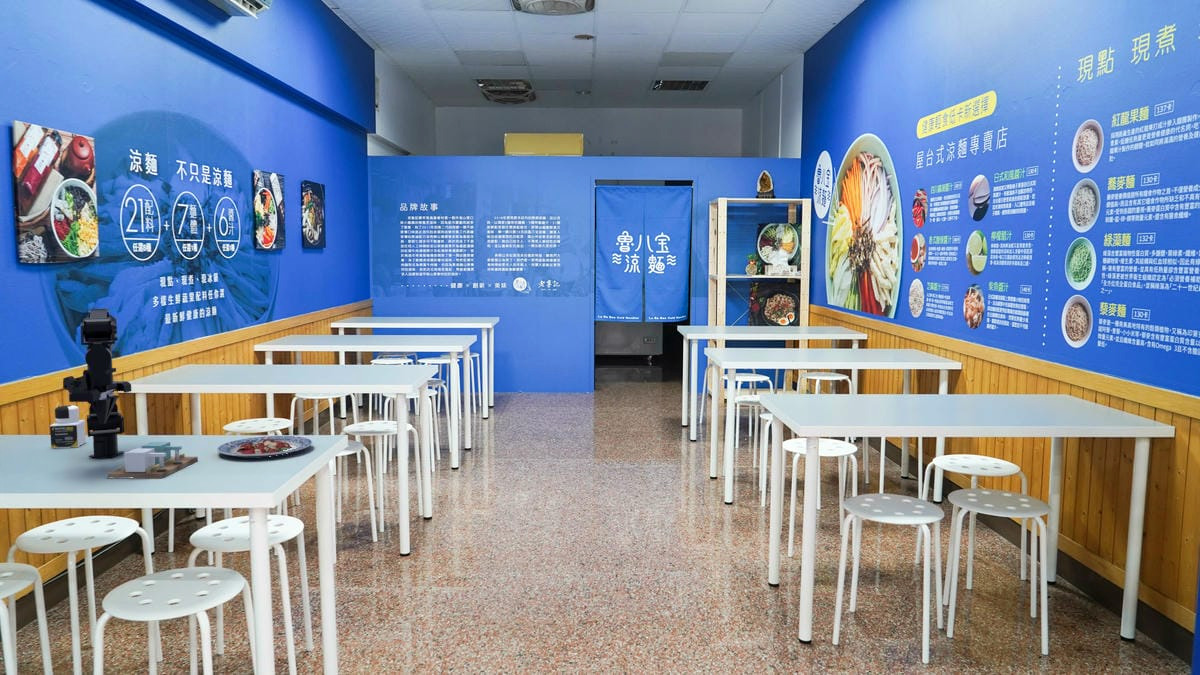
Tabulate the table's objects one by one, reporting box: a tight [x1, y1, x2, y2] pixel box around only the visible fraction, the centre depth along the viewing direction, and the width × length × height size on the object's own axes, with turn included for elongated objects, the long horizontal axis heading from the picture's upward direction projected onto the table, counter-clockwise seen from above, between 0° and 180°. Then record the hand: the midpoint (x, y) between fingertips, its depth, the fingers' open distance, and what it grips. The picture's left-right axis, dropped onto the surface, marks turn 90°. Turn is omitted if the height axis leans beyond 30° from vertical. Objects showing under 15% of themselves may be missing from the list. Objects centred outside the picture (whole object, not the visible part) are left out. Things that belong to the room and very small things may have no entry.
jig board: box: [106, 452, 199, 479], centre depth 226 cm, size 19×14×2 cm
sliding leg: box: [141, 441, 183, 465], centre depth 227 cm, size 5×9×5 cm, turn 89°
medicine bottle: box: [49, 404, 87, 449], centre depth 255 cm, size 7×7×12 cm
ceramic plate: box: [216, 435, 313, 459], centre depth 247 cm, size 26×26×3 cm
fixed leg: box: [124, 447, 166, 472], centre depth 220 cm, size 5×9×5 cm, turn 89°
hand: (102, 423), depth 227 cm, fingers closed
